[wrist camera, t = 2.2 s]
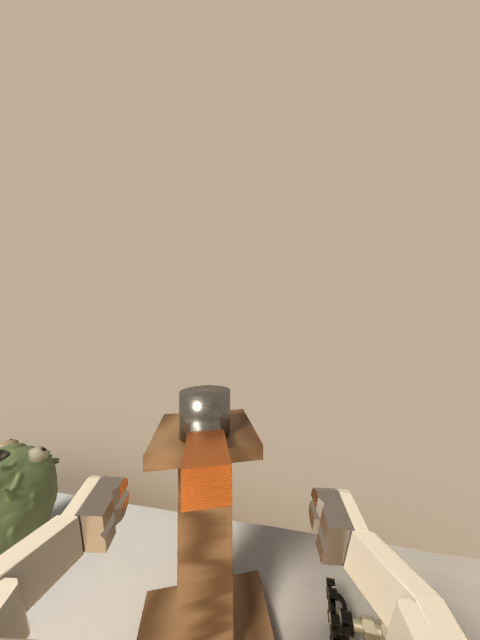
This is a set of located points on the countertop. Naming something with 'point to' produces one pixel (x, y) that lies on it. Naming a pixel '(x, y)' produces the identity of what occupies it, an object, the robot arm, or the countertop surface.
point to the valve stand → (205, 556)
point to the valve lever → (205, 448)
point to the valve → (350, 619)
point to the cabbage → (24, 490)
